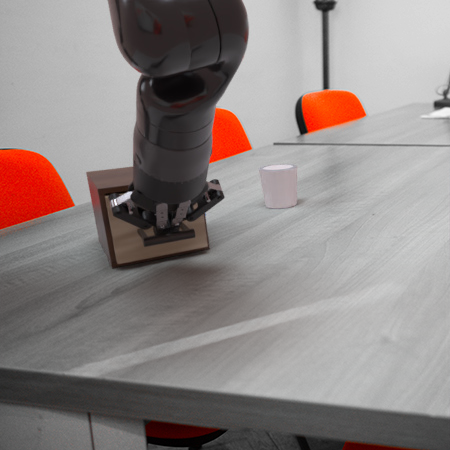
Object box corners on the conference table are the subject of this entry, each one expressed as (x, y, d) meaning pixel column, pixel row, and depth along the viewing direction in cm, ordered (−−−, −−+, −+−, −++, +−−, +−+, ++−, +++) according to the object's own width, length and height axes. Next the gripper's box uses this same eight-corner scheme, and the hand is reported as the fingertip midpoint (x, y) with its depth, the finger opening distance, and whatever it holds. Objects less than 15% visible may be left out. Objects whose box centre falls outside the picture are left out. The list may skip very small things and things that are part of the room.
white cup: (308, 203, 105) (305, 165, 103) (278, 211, 100) (274, 172, 98) (284, 198, 109) (280, 162, 107) (254, 206, 104) (250, 168, 102)
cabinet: (209, 249, 81) (200, 175, 78) (112, 268, 74) (97, 188, 71) (185, 226, 93) (176, 161, 90) (99, 241, 86) (85, 171, 83)
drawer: (220, 258, 74) (212, 192, 71) (125, 278, 68) (112, 207, 65) (184, 225, 90) (176, 170, 87) (104, 239, 84) (93, 180, 81)
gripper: (225, 118, 64) (209, 203, 78) (94, 129, 58) (101, 220, 71) (245, 171, 62) (225, 250, 75) (111, 189, 55) (115, 272, 68)
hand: (165, 235), depth 73 cm, fingers closed
